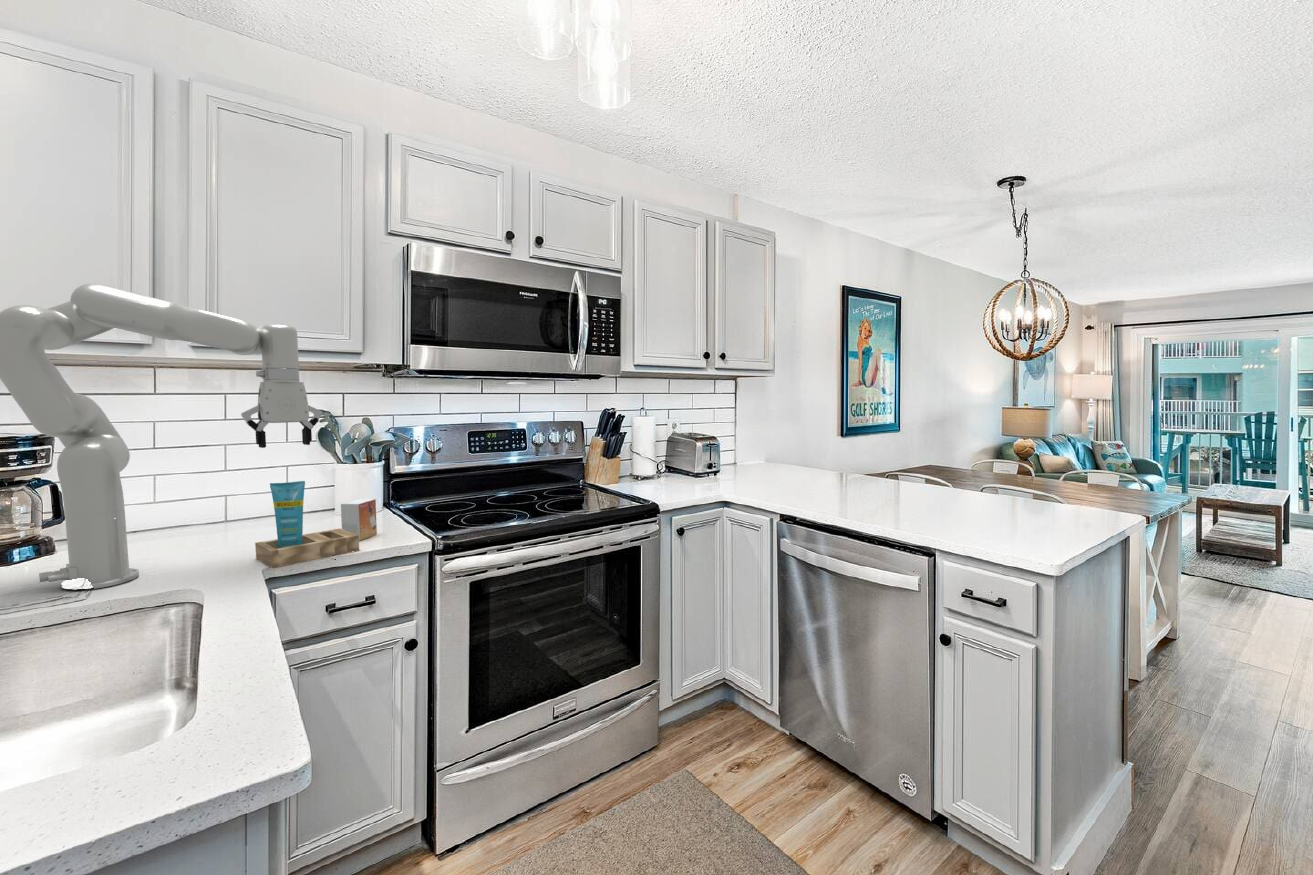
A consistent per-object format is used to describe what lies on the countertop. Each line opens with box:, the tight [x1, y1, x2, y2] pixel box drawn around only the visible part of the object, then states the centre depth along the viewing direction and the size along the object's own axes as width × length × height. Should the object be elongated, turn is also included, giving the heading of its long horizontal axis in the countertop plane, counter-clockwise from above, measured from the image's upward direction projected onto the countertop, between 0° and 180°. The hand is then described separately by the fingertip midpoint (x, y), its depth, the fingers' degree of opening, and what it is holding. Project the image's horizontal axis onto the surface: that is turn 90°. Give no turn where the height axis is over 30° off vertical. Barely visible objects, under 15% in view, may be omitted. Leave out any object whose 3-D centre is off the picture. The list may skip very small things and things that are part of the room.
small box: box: [340, 498, 378, 542], centre depth 169 cm, size 8×6×10 cm
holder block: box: [254, 528, 360, 569], centre depth 152 cm, size 20×12×4 cm, turn 139°
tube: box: [269, 480, 306, 548], centre depth 149 cm, size 7×5×19 cm, turn 122°
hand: (284, 445), depth 147 cm, fingers open, 9 cm apart
